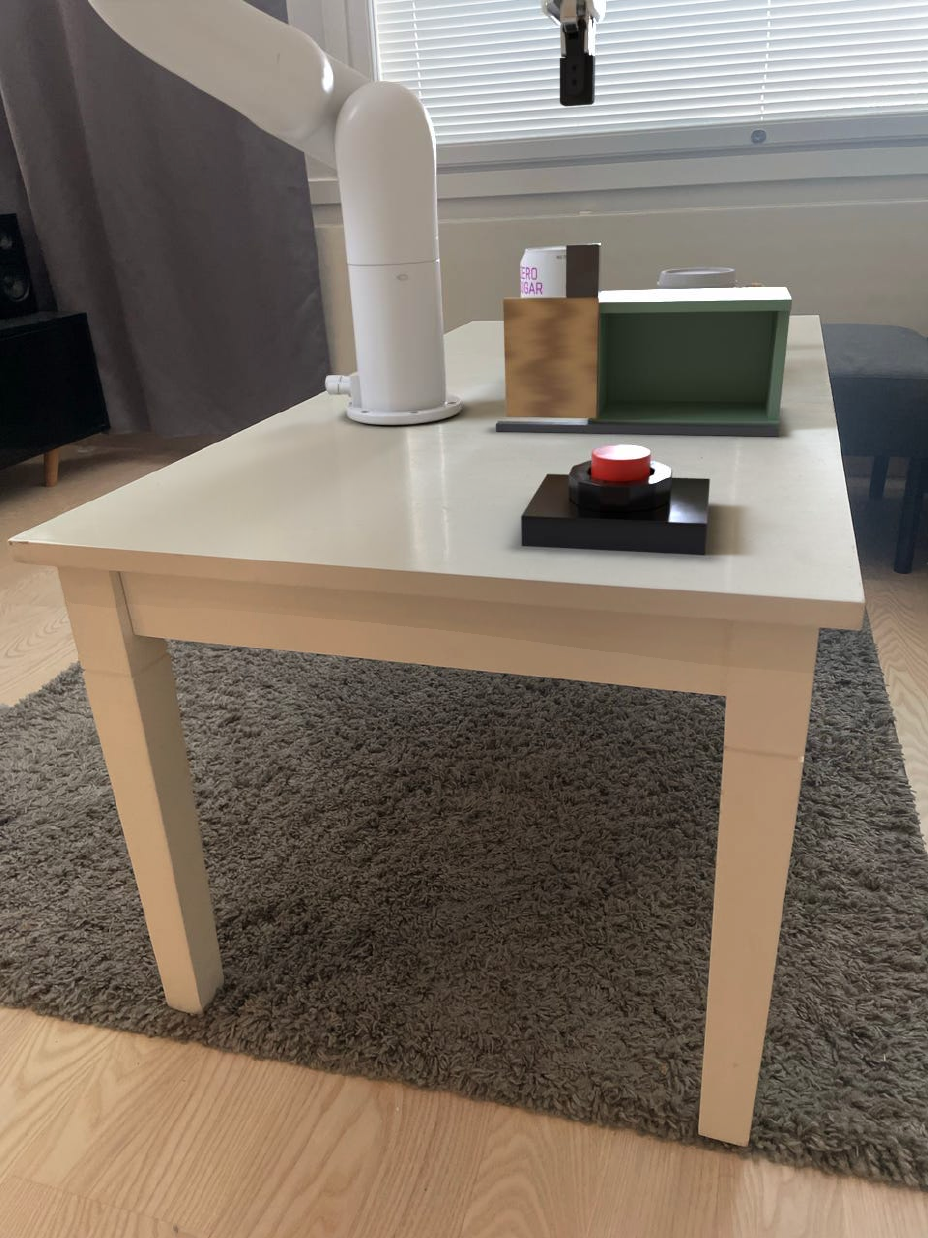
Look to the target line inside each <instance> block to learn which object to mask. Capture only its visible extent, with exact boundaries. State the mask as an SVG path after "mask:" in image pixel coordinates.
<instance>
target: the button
mask: <svg viewBox="0 0 928 1238" xmlns="http://www.w3.org/2000/svg"><path fill="white" fill-rule="evenodd" d="M590 457H591V459H590V460H591V477H593V478H598V479H603V480H607V481H631V480H639V479H645V478H647V477H650V463H651V461H652V459H651V458H652V452H651V450H650V449H649V448H648V447H647V448H646V447H644V446H640V445H635V444H634V445H633V444H608V445H602V446H599V447H596V448H594V449H593V450H591V454H590Z"/></svg>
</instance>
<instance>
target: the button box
mask: <svg viewBox="0 0 928 1238" xmlns="http://www.w3.org/2000/svg"><path fill="white" fill-rule="evenodd" d="M710 485H711V478H701V477H673V469H672V468H671V467H669V466H668V465H666V464H664V463H662V462H660V461H654V460H651V463H650V477H647V478H645V479H639V480H631V481H607V480H603V479H598V478H593V477H591V459H590V460H586V461H584V462H583V461H582V462H581V463H578V464H575V465H573V466H572V467H571V469H570V471H569V473H568V474H567V473H566V474H565V473H546V475H545V477H544V478H543V480H542V481H541V483H540V485H539V487H538V488H537V490H536V491H535V493H534V495H532V498H531V499H530V501H529V502H528V504H527V506H526V507H525V509H524V510H523V513H522V514H521V516H520V523H521V524H520V527H521V529H520V530H521V534H520V535H521V547H529V548H534V547H535V548H548V549H549V548H550V549H551V548H552V549H567V550H568V549H570V550H590V551H591V550H592V551H608V552H609V551H612V552H613V551H614V552H627V553H628V552H632V553H648V554H649V553H651V554H670V555H689V556H706V545H707V535H708V533H707V532H708V517H709V504H710V503H709V502H710V501H709V500H710Z"/></svg>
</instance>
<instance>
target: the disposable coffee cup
mask: <svg viewBox="0 0 928 1238" xmlns="http://www.w3.org/2000/svg"><path fill="white" fill-rule="evenodd" d="M738 281H739V280H737V279H736V271H735V269H734V268H729V267H685V268H673V269H666V270H663V271H661V272H660V276H659V280H658V281H657V282H656V285H657V287H658V290H678V289H728V288H736V285H737V284H738Z"/></svg>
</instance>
